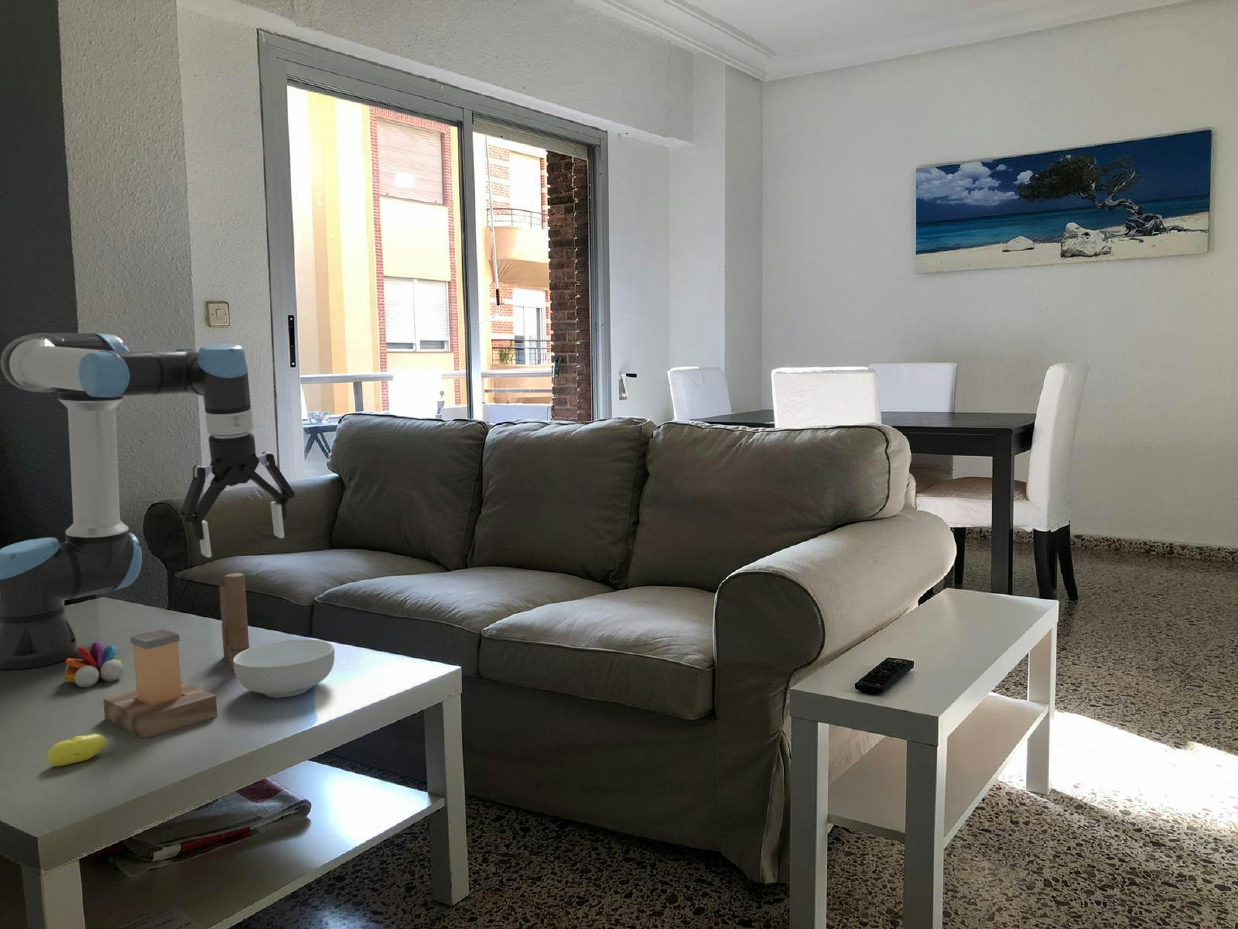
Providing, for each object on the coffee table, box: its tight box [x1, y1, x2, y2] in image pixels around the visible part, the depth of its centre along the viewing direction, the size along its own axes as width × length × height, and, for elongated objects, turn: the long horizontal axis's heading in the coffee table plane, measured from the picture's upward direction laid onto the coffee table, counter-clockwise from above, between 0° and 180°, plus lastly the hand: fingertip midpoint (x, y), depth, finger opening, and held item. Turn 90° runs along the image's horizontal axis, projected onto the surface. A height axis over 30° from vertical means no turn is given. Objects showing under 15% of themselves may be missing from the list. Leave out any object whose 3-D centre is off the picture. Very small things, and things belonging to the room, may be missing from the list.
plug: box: [130, 628, 182, 706], centre depth 158 cm, size 5×5×14 cm
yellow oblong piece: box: [46, 733, 107, 767], centre depth 142 cm, size 4×8×4 cm, turn 134°
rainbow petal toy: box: [64, 641, 124, 688], centre depth 178 cm, size 8×10×7 cm
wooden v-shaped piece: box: [218, 572, 250, 671], centre depth 187 cm, size 4×11×18 cm, turn 31°
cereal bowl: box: [233, 638, 335, 699], centre depth 171 cm, size 17×17×7 cm
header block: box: [102, 680, 218, 740], centre depth 159 cm, size 14×12×4 cm
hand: (243, 545), depth 176 cm, fingers open, 13 cm apart
